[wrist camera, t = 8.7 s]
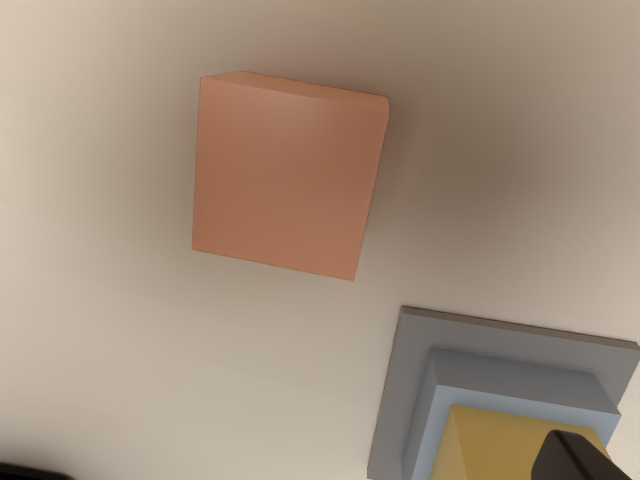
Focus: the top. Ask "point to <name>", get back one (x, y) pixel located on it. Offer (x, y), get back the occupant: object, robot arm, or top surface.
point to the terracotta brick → (285, 171)
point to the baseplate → (486, 343)
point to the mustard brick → (494, 444)
